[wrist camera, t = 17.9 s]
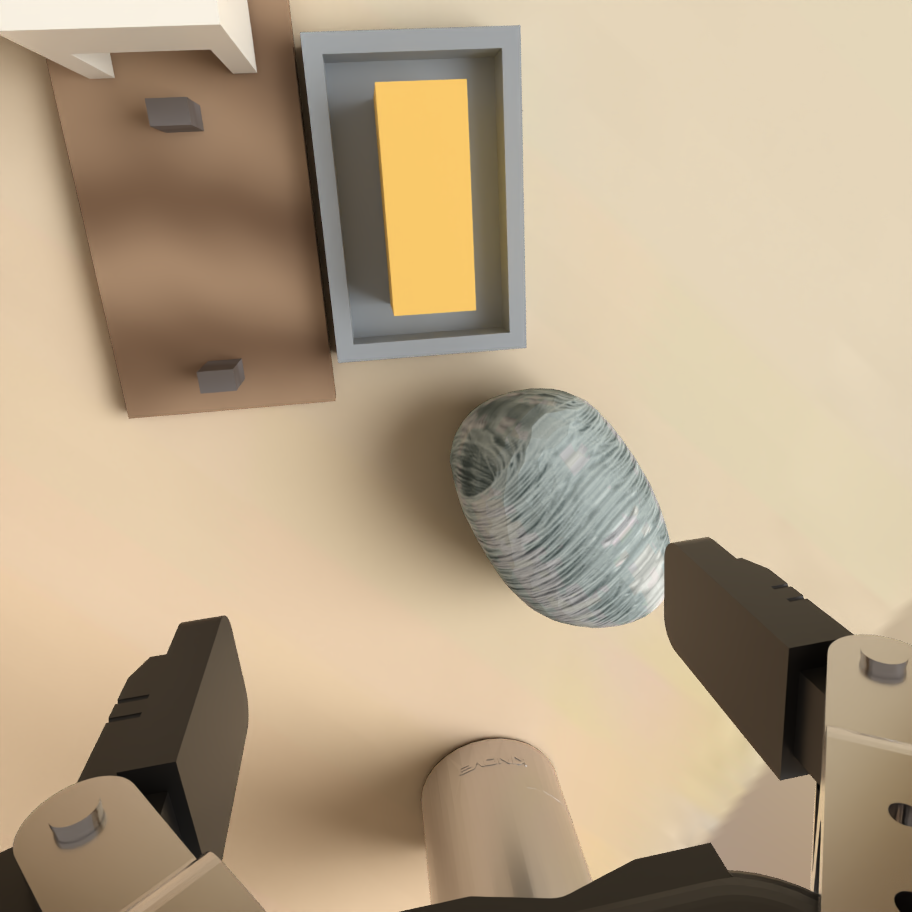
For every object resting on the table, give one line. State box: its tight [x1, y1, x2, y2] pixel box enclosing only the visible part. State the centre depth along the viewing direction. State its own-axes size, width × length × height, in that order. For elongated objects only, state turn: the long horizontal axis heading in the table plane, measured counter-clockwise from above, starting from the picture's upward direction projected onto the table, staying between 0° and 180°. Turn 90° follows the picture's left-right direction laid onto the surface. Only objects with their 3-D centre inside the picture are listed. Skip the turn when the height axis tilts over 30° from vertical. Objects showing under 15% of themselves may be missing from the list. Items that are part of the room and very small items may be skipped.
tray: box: [300, 25, 526, 363], centre depth 31 cm, size 14×9×2 cm
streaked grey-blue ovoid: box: [450, 389, 670, 628], centre depth 35 cm, size 14×10×10 cm
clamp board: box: [46, 0, 336, 418], centre depth 30 cm, size 18×10×3 cm, turn 3°
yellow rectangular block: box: [373, 79, 476, 316], centre depth 30 cm, size 9×4×4 cm, turn 3°
